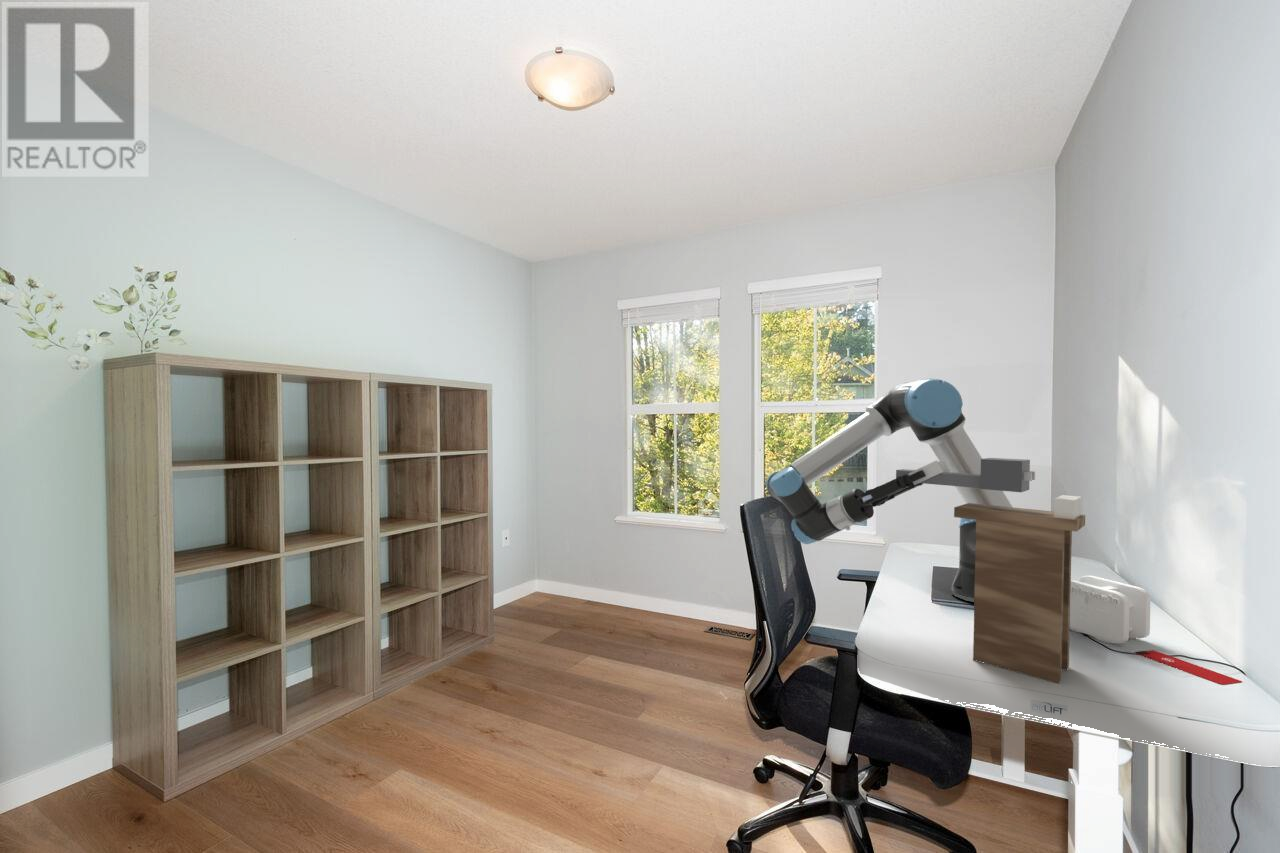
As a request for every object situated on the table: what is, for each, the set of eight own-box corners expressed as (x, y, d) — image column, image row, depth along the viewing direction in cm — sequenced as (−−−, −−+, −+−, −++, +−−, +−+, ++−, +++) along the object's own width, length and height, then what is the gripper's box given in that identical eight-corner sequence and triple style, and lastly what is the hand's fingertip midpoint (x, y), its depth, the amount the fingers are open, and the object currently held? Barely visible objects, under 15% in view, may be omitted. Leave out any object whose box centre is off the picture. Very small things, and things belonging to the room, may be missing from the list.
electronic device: (1243, 684, 106) (1153, 652, 120) (1244, 681, 106) (1153, 649, 120) (1221, 687, 104) (1132, 654, 119) (1221, 684, 104) (1132, 651, 119)
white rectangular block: (1060, 512, 111) (1061, 494, 111) (1081, 514, 109) (1081, 496, 109) (1053, 517, 105) (1053, 498, 105) (1074, 519, 103) (1074, 500, 103)
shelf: (965, 641, 123) (968, 502, 123) (1081, 670, 109) (1085, 514, 109) (951, 653, 116) (954, 507, 116) (1073, 687, 102) (1076, 520, 102)
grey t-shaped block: (905, 479, 131) (905, 453, 131) (1036, 490, 113) (1037, 460, 113) (893, 481, 126) (893, 454, 126) (1028, 493, 108) (1029, 461, 108)
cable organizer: (1155, 644, 124) (1156, 591, 123) (1121, 649, 120) (1122, 594, 120) (1082, 621, 138) (1083, 573, 138) (1050, 625, 135) (1051, 576, 134)
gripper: (872, 519, 141) (964, 479, 127) (841, 527, 129) (939, 484, 115) (858, 491, 144) (946, 449, 129) (826, 497, 132) (920, 450, 117)
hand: (943, 465), depth 122 cm, fingers closed on grey t-shaped block, 4 cm apart
